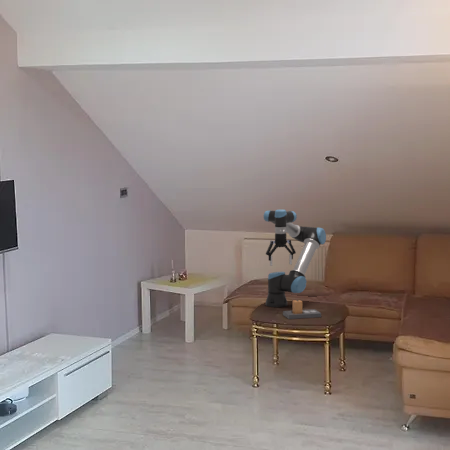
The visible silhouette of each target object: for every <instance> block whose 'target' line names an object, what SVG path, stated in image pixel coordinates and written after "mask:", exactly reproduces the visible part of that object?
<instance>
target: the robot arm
mask: <svg viewBox="0 0 450 450" xmlns="http://www.w3.org/2000/svg"><path fill="white" fill-rule="evenodd" d="M297 218H298V217H297V213H296V212H295V211H293V210H288V211H287V210H286V209H276V210H270V209H269V210H266V211H264V213H263V220H264V221H265V222H269V223H272V224H274V233H275V234H274V240H270V242H269V246H268V248H267V250H266V252H265V255H266V256H268V261H269V266H273V253H275V251H276V250H277V249H278V248H285V249H286V251H288V253H289V255H288V257H289V259H288V261H289V262H288V264H289V265H291V266H292V264H293V260H294V255H295V254H296V250H295V248H294V246H293V244H292V240H291V239H287V234H288V235H289V237H291V238H292V239H294V240H296V241H298V242H300V243H304V245H303V248H302V249H301V252H300V254H299V256H298V258H297V261H296V262H295V265H294V266H293V269H291V270H289V273H288V274H286V272H285V271H274V272H270V273H269V274H268V276H267V297H266V300H265V306H266V307H269V308H270V307H271V308H283V307H287V306H288V299H287V297H286V293H293V294H301V293H302V292H303V291H305V289H306V287H307V278H306V273H307V270H308V268H309V265H310V264H311V262H312V259H313V257H314V254H315V253H316V251H317V249H319V248H320V246H321V245H324V244H325V243H326V240H327V233H326V231H325V229H324V228H322V227H313V226H300V225H298V224H294V222H296V220H297ZM287 244H288V245H287Z"/></svg>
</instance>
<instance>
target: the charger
mask: <svg viewBox="0 0 450 450" xmlns="http://www.w3.org/2000/svg"><path fill="white" fill-rule="evenodd" d="M302 310H303V301H302V300H300V299H296V300H292V309H291V311H292V313H293V314H302Z"/></svg>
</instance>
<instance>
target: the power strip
mask: <svg viewBox="0 0 450 450" xmlns="http://www.w3.org/2000/svg"><path fill="white" fill-rule="evenodd" d="M282 316H283V317H284V318H287V319H288V320H295V319H299V320H300V319H310V318H313V319H315V318H322V312H320V311H319V310H317V309H302V314H293V313H292V310H283V311H282Z"/></svg>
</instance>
